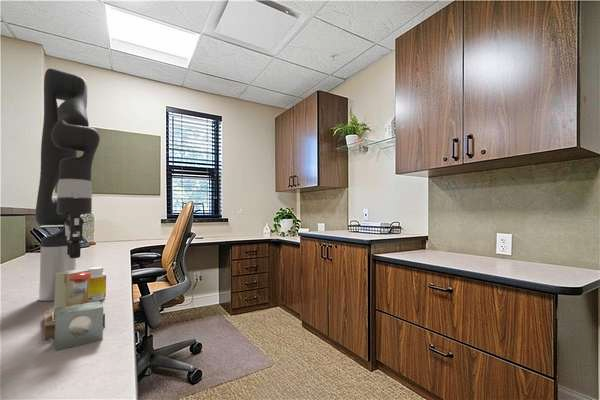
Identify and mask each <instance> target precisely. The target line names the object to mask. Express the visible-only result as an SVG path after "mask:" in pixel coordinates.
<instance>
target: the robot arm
mask: <svg viewBox="0 0 600 400" xmlns="http://www.w3.org/2000/svg"><path fill="white" fill-rule="evenodd" d="M43 77H44V79H43V112H44V113H43V124H42V135H41V143H40V145H41V146H40V173H39V175H40V176H39V185H38V190H37V198H36V204H35V205H36V206H35V221H36V223H37V224H38V225H39V226H44V227H45V226H62V228H61V229H59V231H57V232H56V233H52V234H50V235H49V234H48V235H45V236H44V237H42V238H41V241H40V256H39V257H40V259H39V261H40V263H39V264H40V265H39V288H38V289H39V290H38V291H39V292H38V293H39V294H38V300H39V302H40V301H41V302H51V301H54V299H55V281H56V273H61V272H66V271H72V270H77V267H76V266H77V259H79V258H81V245H82V242H83V239H84V237H83V235H84V227H85V221H84V219H83V217H82V215H90V214H92V212H93V211H92V207H93V205H92V204H93V203H92V200H93V188H92V166H93V161H94V158H95V154H96V151H97V150H98V147H99V145H100V142H101V141H100V139H101V138H100V137H101V136H100V134H99V132H98V131H97V130H96V129H95V128H94V127H90V124H89V118H88V114H87V113H88V112H87V106H88V84H87V81H86V80H85V78H84V77H81V76H79V75H77V74H74V73H69V72H66V71H64V70H62V71H61V70H59V69H56V68H48V69H46V71H45V73H44V76H43ZM57 100H60V101H63V102H62V103H60V104H59V106H58V102H57ZM78 152H83V153H82V155H81V156H78V157H77V155H78ZM57 184H58V185H57ZM56 186H57V188H56ZM55 189H57V192H56V197H53V194H54V191H55Z"/></svg>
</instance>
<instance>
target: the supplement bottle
mask: <svg viewBox="0 0 600 400" xmlns="http://www.w3.org/2000/svg"><path fill="white" fill-rule="evenodd" d="M88 270H89V272H90V273H91V278H90V279H89V288H88V303H90V302H96V301H103V300H104V299H105V298H106V297H107V296H106V295H107V293H106V292H107V273H106V272H105V271H104V267H103V266H95V267H89V268H88Z"/></svg>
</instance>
